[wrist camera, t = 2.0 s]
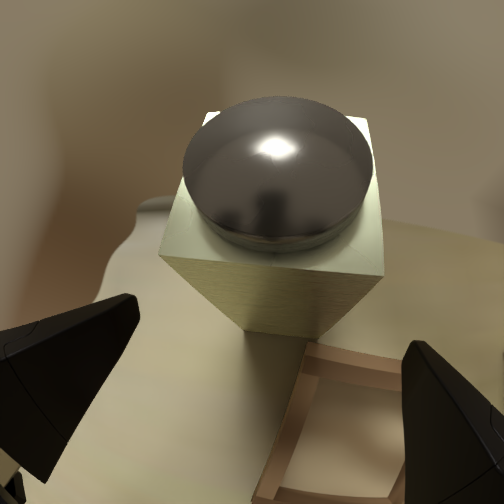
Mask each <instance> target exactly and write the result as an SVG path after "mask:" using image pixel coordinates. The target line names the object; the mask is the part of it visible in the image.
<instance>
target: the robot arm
mask: <svg viewBox="0 0 504 504" xmlns="http://www.w3.org/2000/svg"><path fill="white" fill-rule="evenodd" d="M139 321H140V311H139V306H138V301H137V298H136V296H135V295H132V294H128V293H124V294H120V295H117V296H114V297H111V298H108V299H105V300H102V301H98V302H95V303H92V304H89V305H86V306H83V307H80V308H77V309H73V310H70V311H67V312H64V313H61V314H58V315H54V316H51V317H48V318H45V319H42V320H40V321H35V322H33V323H29V324H26V325H22V326H19V327H16V328H12V329H7V330H3V331H0V504H25V502H26V497H25V491H24V486H23V479H22V474H21V473H20V472H19V471H18V470H19V468H20V467H21V466H22V467H23V468H24V469H25V470H26V471H28V472H29V473H30V474H32V475H33V476H34V477H36V478H37V479H38V480H40V481H41V482H42V483H44V484H46V482H47V481H48V479H49V477H50V475H51V473H52V471H53V469H54V467H55V466H56V464H57V462H58V460H59V458H60V456H61V455H62V453H63V451H64V449H65V447H66V446H67V444H68V442H69V440H70V438H71V436H72V435H73V433H74V431H75V430H76V428H77V426H78V424H79V423H80V421H81V419H82V418H83V416H84V414H85V413H86V411H87V409H88V408H89V406H90V404H91V403H92V401H93V399H94V398H95V396H96V395H97V393H98V391H99V390H100V388H101V387H102V385H103V383H104V382H105V380H106V379H107V377H108V376H109V374H110V372H111V371H112V369H113V368H114V366H115V365H116V363H117V362H118V360H119V359H120V357H121V355H122V354H123V352H124V350H125V348H126V346H127V344H128V342H129V340H130V338H131V336H132V335H133V333H134V331H135V329H136V327H137V325H138V323H139ZM401 380H402V417H403V429H404V447H405V498H404V504H504V416H503V415H502V414H501V413H500V412H499V411H498V410H497V409H496V408H495V407H494V406H493V405H491V403H490V402H489V401H488V400H487V399H486V398H485V397H484V396H483V395H482V394H481V393H480V392H479V391H478V390H477V389H476V388H475V387H474V386H473V385H472V384H471V383H470V382H469V381H468V380H466V379H465V378H464V377H463V376H462V375H461V374H460V373H459V372H458V371H457V370H456V369H455V368H454V367H453V366H451V365H450V364H449V363H448V362H447V361H446V360H445V359H444V358H443V357H442V356H440V355H439V354H438V353H437V352H436V351H435V350H434V349H433V348H432V347H430V346H429V345H428V344H427V343H426V342H425V341H420V340H413V341H412V342H411V343H410V345H409V347H408V349H407V351H406V353H405V355H404V357H403V360H402V363H401Z"/></svg>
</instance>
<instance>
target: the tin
mask: <svg viewBox="0 0 504 504" xmlns="http://www.w3.org/2000/svg"><path fill="white" fill-rule="evenodd" d="M158 255H159V256H160V257H161V258H162V259H163V260H164V261H165V262H166V263H167V264H168V265H169V266H171V267H172V268H173V269H174V270H175V271H176V272H177V273H178V274H179V275H180V276H181V277H182V278H184V279H185V280H186V281H187V282H188V283H189V284H190V285H191V286H192V287H194V288H195V289H196V290H197V291H198V292H199V293H200V294H201V295H203V296H204V297H205V298H206V299H207V300H208V301H209V302H211V303H212V304H213V305H214V306H215V307H216V308H218V309H219V310H220V311H221V312H222V313H223V314H225V315H226V316H227V317H228V318H229V319H231V320H232V321H233V322H234V323H235V324H237V325H238V326H239V327H240V328H241V329H243V330H244V331H252V332H259V333H267V334H276V335H285V336H295V337H305V338H317V339H319V338H320V337H321V336H322V335H323V334H324V333H325V332H327V331H328V330H329V329H330V328H331V327H332V326H333V325H334V324H336V323H337V322H338V321H339V320H340V319H341V318H342V317H343V316H344V315H345V314H346V313H347V312H349V311H350V310H351V309H352V308H353V307H354V306H355V305H356V304H357V303H358V302H359V301H360V300H361V299H362V298H363V297H364V296H365V295H366V294H367V293H368V292H369V291H370V290H371V289H372V288H373V287H374V286H375V285H376V284H377V283H378V282H379V281H380V280H381V279H382V278H383V277H384V251H383V234H382V221H381V210H380V200H379V192H378V184H377V177H376V170H375V164H374V157H373V152H372V146H371V140H370V135H369V130H368V126H367V121H366V119H364V118H356V117H348V116H344V115H343V114H341V113H340V112H338V111H336V110H335V109H333V108H331V107H329V106H326V105H324V104H321V103H318V102H315V101H312V100H308V99H303V98H297V97H287V96H275V97H274V96H273V97H263V98H257V99H252V100H249V101H245V102H242V103H239V104H236V105H234V106H232V107H229V108H227V109H225V110H223V111H222V112H211V113H208V114H207V116H206V119H205V121H204V124H203V126H202V127H201V128H200V129H199V130H198V131H197V133H196V134H195V135H194V137H193V138H192V140H191V141H190V143H189V145H188V147H187V149H186V153H185V156H184V161H183V178H182V181H181V183H180V186H179V189H178V192H177V195H176V198H175V201H174V204H173V207H172V210H171V213H170V216H169V219H168V222H167V226H166V229H165V232H164V235H163V239H162V242H161V246H160V249H159V253H158Z"/></svg>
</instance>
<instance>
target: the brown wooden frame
mask: <svg viewBox="0 0 504 504" xmlns="http://www.w3.org/2000/svg"><path fill="white" fill-rule="evenodd" d="M401 363H402V360H396V359H391V358H385V357H380V356H374V355H369V354H364V353H359V352H354V351H349V350H345V349H340V348H336V347H331V346H327V345H322V344H318V343H314V342H310V341H308V342H307V345H306V348H305V352H304V355H303V359H302V362H301V365H300V369H299V372H298V375H297V378H296V382H295V385H294V388H293V391H292V394H291V397H290V400H289V403H288V406H287V409H286V412H285V415H284V418H283V421H282V423H281V426H280V429H279V432H278V434H277V437H276V440H275V442H274V445H273V448H272V450H271V453H270V455H269V458H268V460H267V463H266V465H265V468H264V470H263V473H262V475H261V477H260V480H259V482H258V484H257V487H256V489H255V491H254V494H253V496H252V499H251V502H252V504H404V498H405V447H404V429H403V417H402V380H401Z"/></svg>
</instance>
